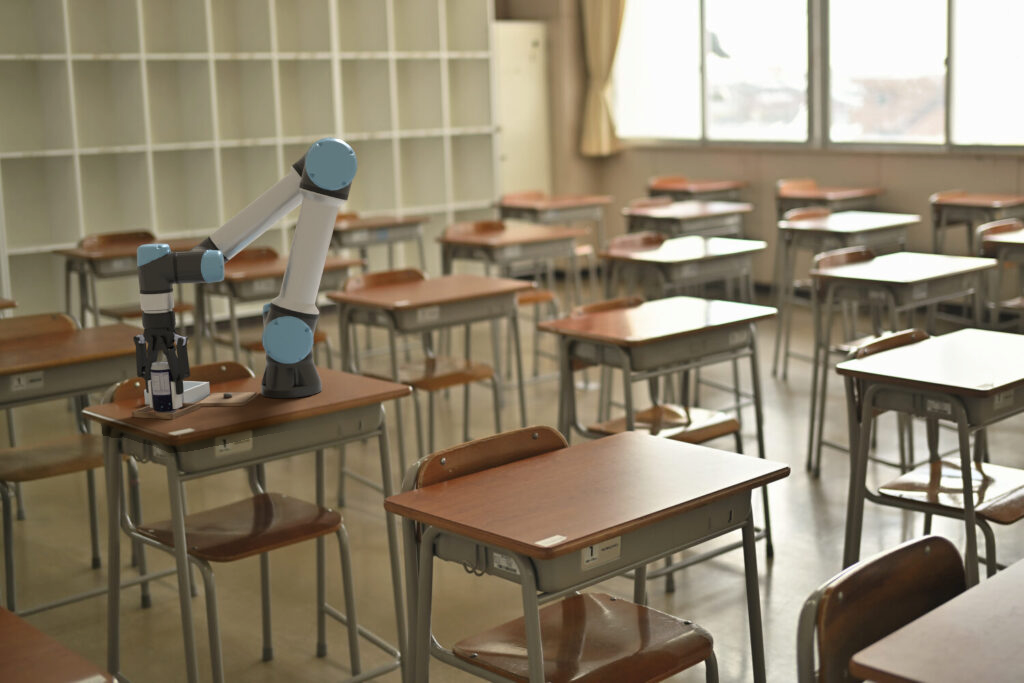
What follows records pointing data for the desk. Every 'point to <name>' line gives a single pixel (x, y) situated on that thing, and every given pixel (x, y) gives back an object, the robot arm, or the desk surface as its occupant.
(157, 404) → the beverage can
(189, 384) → the tray
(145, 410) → the frame
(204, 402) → the lid
